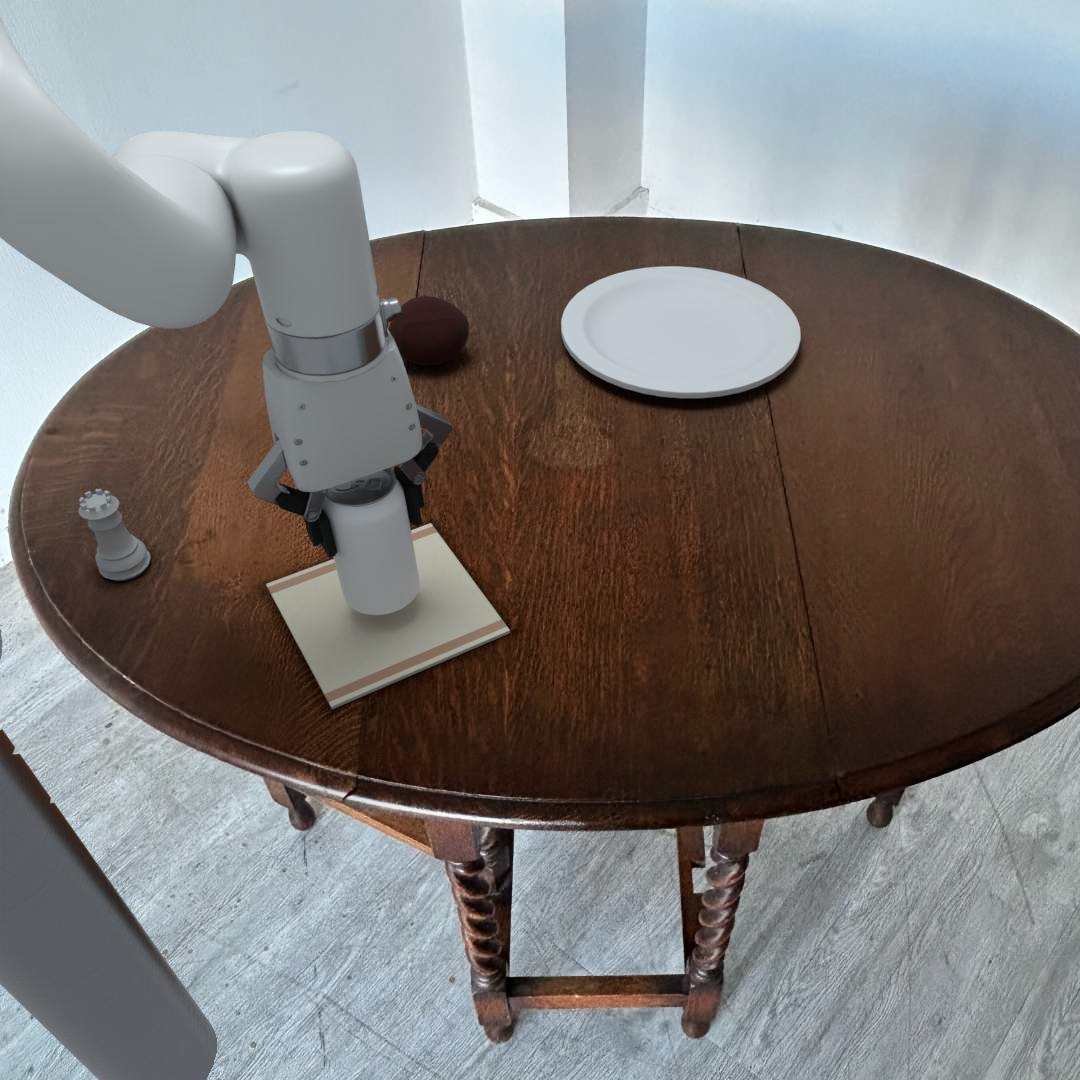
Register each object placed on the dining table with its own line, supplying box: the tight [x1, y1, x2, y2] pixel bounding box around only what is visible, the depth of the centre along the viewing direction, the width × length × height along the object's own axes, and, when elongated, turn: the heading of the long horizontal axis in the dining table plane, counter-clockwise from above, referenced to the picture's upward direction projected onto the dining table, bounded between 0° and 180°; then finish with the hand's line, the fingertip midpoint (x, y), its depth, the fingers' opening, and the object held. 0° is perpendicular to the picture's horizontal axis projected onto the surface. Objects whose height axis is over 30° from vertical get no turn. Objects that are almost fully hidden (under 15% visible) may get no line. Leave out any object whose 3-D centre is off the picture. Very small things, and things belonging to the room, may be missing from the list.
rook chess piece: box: [77, 488, 152, 582], centre depth 86 cm, size 4×4×8 cm
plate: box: [560, 265, 802, 399], centre depth 116 cm, size 28×28×2 cm
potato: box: [387, 295, 470, 367], centre depth 111 cm, size 8×9×8 cm
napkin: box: [265, 522, 511, 710], centre depth 86 cm, size 16×16×1 cm
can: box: [322, 467, 419, 616], centre depth 80 cm, size 6×6×12 cm
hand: (369, 529), depth 79 cm, fingers closed on can, 6 cm apart
